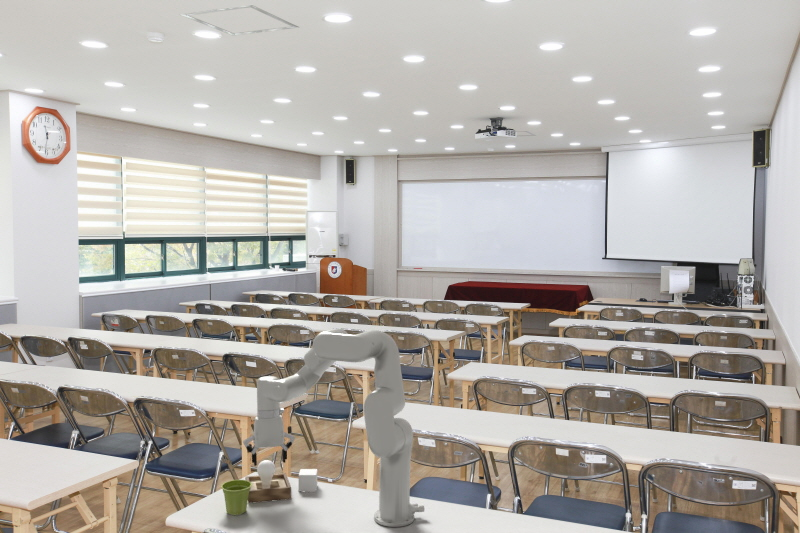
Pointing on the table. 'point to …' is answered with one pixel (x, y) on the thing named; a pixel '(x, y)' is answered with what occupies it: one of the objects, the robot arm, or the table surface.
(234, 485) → the plant pot
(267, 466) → the lightbulb
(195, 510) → the table surface
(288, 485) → the socket box
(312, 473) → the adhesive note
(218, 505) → the table surface
